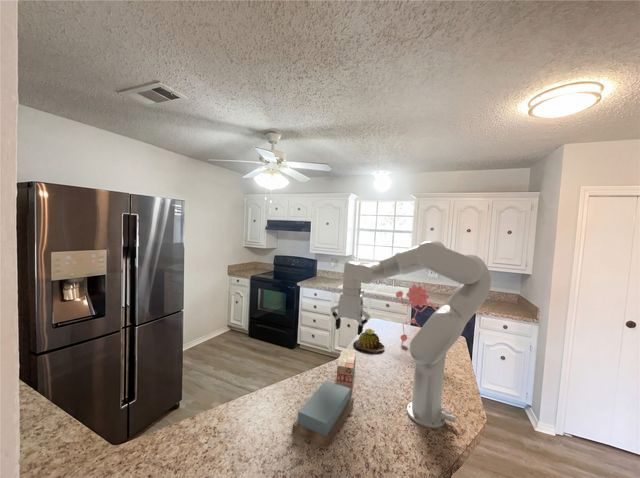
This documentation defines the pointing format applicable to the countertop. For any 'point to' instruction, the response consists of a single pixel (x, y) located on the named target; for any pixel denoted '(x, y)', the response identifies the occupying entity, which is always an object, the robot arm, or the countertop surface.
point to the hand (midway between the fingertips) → (348, 331)
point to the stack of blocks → (346, 368)
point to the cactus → (369, 342)
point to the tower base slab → (326, 440)
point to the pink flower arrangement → (415, 303)
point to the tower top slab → (324, 407)
